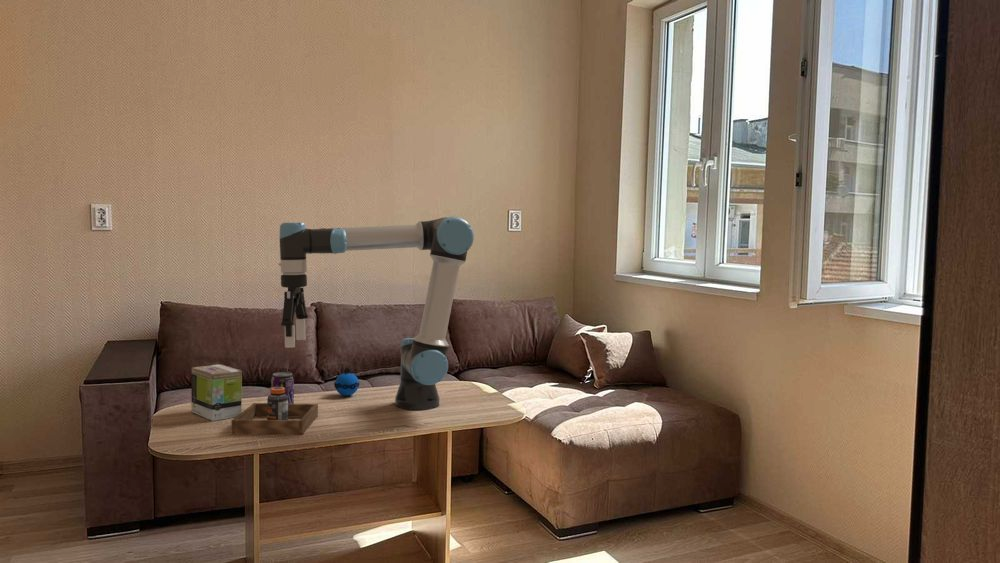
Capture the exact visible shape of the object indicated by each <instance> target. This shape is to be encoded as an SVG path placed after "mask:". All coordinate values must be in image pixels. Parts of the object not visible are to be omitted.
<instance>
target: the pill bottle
mask: <svg viewBox="0 0 1000 563" xmlns="http://www.w3.org/2000/svg"><path fill="white" fill-rule="evenodd" d="M284 393H285V388H284V387H273V388H271V387H270V394H269V395H268V396H267V399H266V400H267V401H266V402H267V417H266V420H289V417H288V396H287V395H286V394H284Z"/></svg>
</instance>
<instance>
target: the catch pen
mask: <svg viewBox="0 0 1000 563" xmlns="http://www.w3.org/2000/svg"><path fill="white" fill-rule="evenodd" d="M256 417H262V418H263V417H265V418H267V403H266V402H262V403H261V402H253V403H252V404H251V405H250V406H248V407H247V408H245V410H243V411H241V414H239V415H238V416H237V417H233V419H232V420H231V435H271V436H272V435H275V436H276V435H277V436H279V435H283V436H284V435H286V436H287V435H288V436H292V435H293V436H303V434H304V433H305V432H306V431H307V430H308V429H309V428H310V427H311V425H313V423H314V422H315V420H316V419H317V418H318V417H319V404H318V403H294V404H288V418H300V419H299V420H297V419H292V420H291V419H288V420H267V419H255V418H256Z"/></svg>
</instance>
